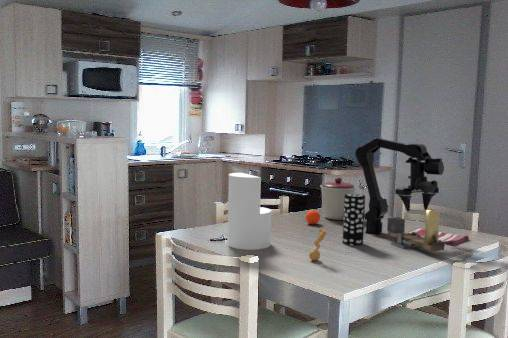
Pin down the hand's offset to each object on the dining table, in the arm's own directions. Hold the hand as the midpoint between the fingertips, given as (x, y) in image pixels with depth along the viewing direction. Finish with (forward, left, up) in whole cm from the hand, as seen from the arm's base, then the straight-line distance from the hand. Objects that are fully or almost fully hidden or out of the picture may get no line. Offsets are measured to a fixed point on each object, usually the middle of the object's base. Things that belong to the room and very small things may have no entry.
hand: (416, 210), depth 219 cm
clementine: (-49, +12, -13) cm, 52 cm away
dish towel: (+8, +9, -14) cm, 18 cm away
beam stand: (-2, -11, -13) cm, 17 cm away
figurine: (-30, -49, -13) cm, 59 cm away
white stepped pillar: (-61, -37, -13) cm, 73 cm away
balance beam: (0, -14, -10) cm, 17 cm away
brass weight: (+7, -21, -9) cm, 24 cm away
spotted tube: (-23, -17, -13) cm, 32 cm away
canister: (-40, +32, -13) cm, 53 cm away
